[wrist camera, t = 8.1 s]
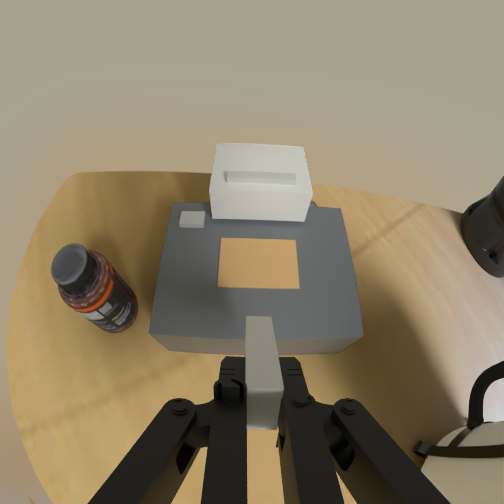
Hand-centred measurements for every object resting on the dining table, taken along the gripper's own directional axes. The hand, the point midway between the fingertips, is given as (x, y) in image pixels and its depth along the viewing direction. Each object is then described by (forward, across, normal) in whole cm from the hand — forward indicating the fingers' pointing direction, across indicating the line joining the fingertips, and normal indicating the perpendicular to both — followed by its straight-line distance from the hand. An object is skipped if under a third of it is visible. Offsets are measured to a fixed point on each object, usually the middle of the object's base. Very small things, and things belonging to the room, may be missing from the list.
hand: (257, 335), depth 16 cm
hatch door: (+14, 0, +8) cm, 16 cm away
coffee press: (-2, +24, -20) cm, 31 cm away
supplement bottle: (+12, -16, -5) cm, 20 cm away
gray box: (+15, 0, -2) cm, 15 cm away
